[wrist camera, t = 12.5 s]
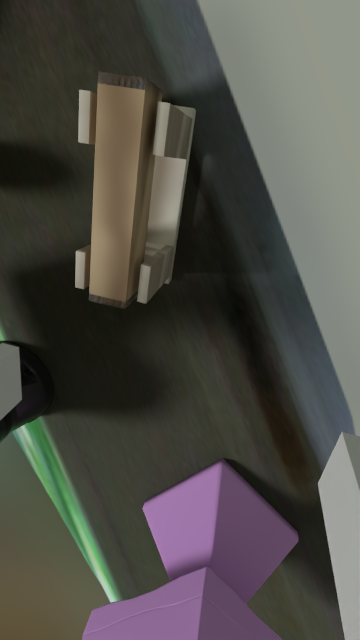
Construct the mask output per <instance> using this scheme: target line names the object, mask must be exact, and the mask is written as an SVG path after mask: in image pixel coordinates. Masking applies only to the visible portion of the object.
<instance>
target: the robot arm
mask: <svg viewBox="0 0 360 640" xmlns="http://www.w3.org/2000/svg"><path fill="white" fill-rule="evenodd" d="M52 398H53V385H52V381H51V378H50V375H49V373H48V371H47V370H46V368H45V367H44V365H43V364H42V363H41V362H40V361H39V360H38V358H36V357H35V356H34V355H33V354H32V353H31V352H29V351H28V350H26V349H24V348H23V347H21V346H18V345H16V344H13V343H9V342H2V341H0V442H1V441H2V440H3V439H4V438H5V437H6V436H7V435H8V434H9V433H10V432H12V431H14V430H16V429H17V428H19V427H21V426H23V425H24V424H26V423H29V422H31V421H33V420H35V419H37V418H38V417H39V416H40V415H41V414H42V413H43V412H44V411H45V410H46V409H47V408H48V407H49V405H50V403H51V401H52ZM318 487H319V493H320V499H321V505H322V510H323V516H324V522H325V528H326V533H327V539H328V545H329V550H330V556H331V562H332V568H333V573H334V579H335V585H336V590H337V596H338V602H339V608H340V613H341V619H342V625H343V630H344V636H345V640H360V437H359V436H356V435H352V434H348V433H344V432H342V433H341V435H340V437H339V439H338V441H337V444H336V446H335V448H334V450H333V452H332V454H331V456H330V459H329V461H328V463H327V465H326V467H325V469H324V471H323V474H322V476H321V478H320V480H319V482H318Z"/></svg>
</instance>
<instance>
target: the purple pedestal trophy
mask: <svg viewBox="0 0 360 640" xmlns="http://www.w3.org/2000/svg"><path fill="white" fill-rule="evenodd" d="M143 511H144V513H145V516H146V519H147V521H148V524H149V527H150V529H151V532H152V534H153V537H154V540H155V542H156V545H157V548H158V550H159V553H160V555H161V558H162V561H163V563H164V566H165V569H166V571H167V574H168V577H169V579H170V582H169V583H167V584H165V585H163V586H162V587H160V588H158V589H156V590H154V591H152V592H149V593H146V594H144V595H141V596H138V597H136V598H133V599H129V600H123V601H117V602H112V603H109V604H107V605H104V606H101V607H99V608H96V609H94V610H92V613H91V616H90V618H89V621H88V623H87V626H86V628H85V631H84V633H83V639H82V640H283V639H281V638H280V637H279V636H278V635H277V634H276V633H275V632H274V631H273V630H271V629H270V628H269V627H268V626H267V625H266V624H265V623H264V622H263V621H261V620H260V619H259V618H258V617H257V616H256V615H255V614H254V612H253V611H252V610H251V609H250V608H249V607H248V606H247V605H246V603H247V602H248V601H249V600H250V599H251V597H252V596H253V595H254V594H255V593H256V592H257V590H258V589H259V588H260V587H261V586H262V584H263V583H264V582H265V581H266V580H267V578H268V577H269V576H270V575H271V574H272V572H273V571H274V570H275V569H276V568H277V566H278V565H279V564H280V563H281V562H282V560H283V559H284V558H285V557H286V556H287V554H288V553H289V552H290V551H291V550H292V548H293V547H294V546H295V545H296V544H297V543H298V541H299V539H298V532H297V531H296V530H295V529H294V528H293V527H292V526H291V525H290V524H289V523H288V522H287V521H286V520H285V519H284V518H283V517H282V516H281V515H280V514H279V513H278V512H277V511H276V510H275V509H274V508H273V507H272V506H271V505H270V504H269V503H268V502H267V501H266V500H265V499H264V498H263V497H262V496H261V495H260V494H259V493H258V492H257V491H256V490H255V489H254V488H253V487H252V486H251V485H250V484H249V483H248V482H247V481H246V480H245V479H244V478H243V477H242V476H240V475H239V474H238V473H237V472H236V471H235V470H234V469H233V468H232V467H231V466H230V465H229V464H228V463H227V462H226V461H225V460H224V459H223V458H222V459H220V460H219V461H217V462H215V463H213V464H211V465H209V466H208V467H206V468H204V469H202V470H200V471H198V472H197V473H195V474H193V475H191V476H189V477H188V478H186V479H184V480H182V481H180V482H178V483H177V484H175V485H173V486H171V487H169V488H167V489H166V490H164V491H162V492H160V493H158V494H156V495H155V496H153V497H151V498H149V499H147V500H146V501H145V503H144V506H143Z"/></svg>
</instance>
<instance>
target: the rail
mask: <svg viewBox="0 0 360 640" xmlns="http://www.w3.org/2000/svg"><path fill="white" fill-rule="evenodd" d="M162 92H163V91H162V90H161V89H159V88H158V87H157V86H156V85H154V84H153V83H152V82H150V81H149V80H148V79H147V78H141V77H134V76H127V75H120V74H113V73H106V72H99V71H98V93H97V117H96V141H95V165H94V189H93V214H92V238H91V262H90V286H89V301H92V302H97V303H101V304H105V305H109V306H114V307H118V308H122V309H126V308H127V307H128V306H129V305H130V304H131V303H132V301H133V300H134V299H135V298H136V297H137V296H138V288H139V279H140V269H141V264H143V263H144V256H145V247H146V238H147V229H148V220H149V210H150V201H151V192H152V183H153V174H154V165H155V156H156V155H153V147H154V138H155V128H156V119H157V109H158V101H159V102H161V101H162Z"/></svg>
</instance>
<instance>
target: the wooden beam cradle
mask: <svg viewBox="0 0 360 640" xmlns="http://www.w3.org/2000/svg"><path fill="white" fill-rule="evenodd" d="M195 116H196V110H195V109H194V108H189V107H182V106H175V105H172V104H171V103H166V102H159V101H158V109H157V119H156V128H155V138H154V147H153V155H156V156H155V165H154V174H153V183H152V192H151V201H150V210H149V220H148V229H147V238H146V247H145V256H144V263H143V264H141V269H140V279H139V288H138V297H137V302H141V303H145V304H146V303H147V302H148V301H149V300H150V299H151V298H152V296H153V295H154V294H155V293H156V292H157V291H158V289H159V288H160V287H161V286H162V285H163V284H164V283H166V284H169V283H170V281H171V278H172V271H173V265H174V258H175V251H176V244H177V238H178V231H179V224H180V217H181V211H182V204H183V197H184V190H185V184H186V177H187V170H188V163H189V157H190V150H191V143H192V136H193V130H194V123H195ZM96 117H97V94H95V93H93V92H91V91H85V90H79V134H78V142H81V143H87V144H93V145H95V141H96ZM90 262H91V244H90V245H88V246H86V247H84V248H81V249H79V250H77V251H76V271H75V287H76V288H80V289H85V288H86V287H88V286H89V285H90Z"/></svg>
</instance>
